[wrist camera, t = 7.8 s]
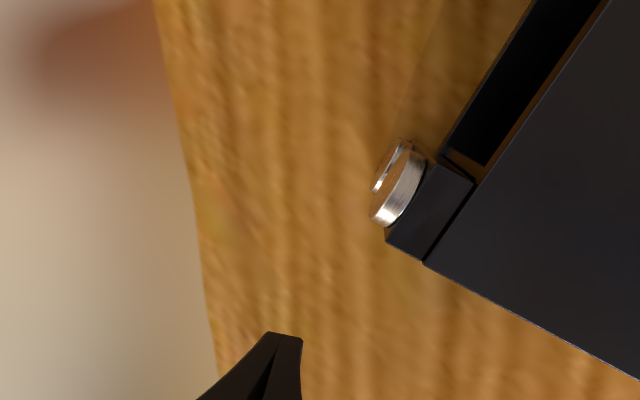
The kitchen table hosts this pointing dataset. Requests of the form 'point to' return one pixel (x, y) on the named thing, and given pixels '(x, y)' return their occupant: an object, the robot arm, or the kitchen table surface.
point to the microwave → (538, 181)
